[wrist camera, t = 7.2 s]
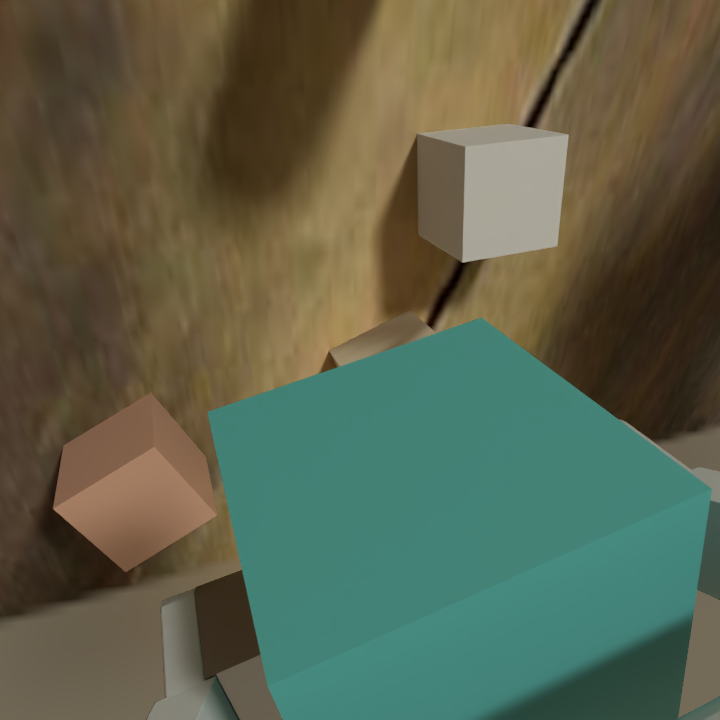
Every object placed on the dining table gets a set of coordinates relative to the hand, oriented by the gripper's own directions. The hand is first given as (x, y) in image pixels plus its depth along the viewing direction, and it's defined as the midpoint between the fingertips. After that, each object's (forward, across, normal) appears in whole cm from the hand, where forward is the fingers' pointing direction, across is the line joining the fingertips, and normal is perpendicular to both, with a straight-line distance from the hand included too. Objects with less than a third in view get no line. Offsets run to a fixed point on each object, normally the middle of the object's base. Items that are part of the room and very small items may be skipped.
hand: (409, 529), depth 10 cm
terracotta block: (+21, +8, +10) cm, 25 cm away
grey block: (+21, -12, +1) cm, 24 cm away
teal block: (+2, 0, 0) cm, 2 cm away
